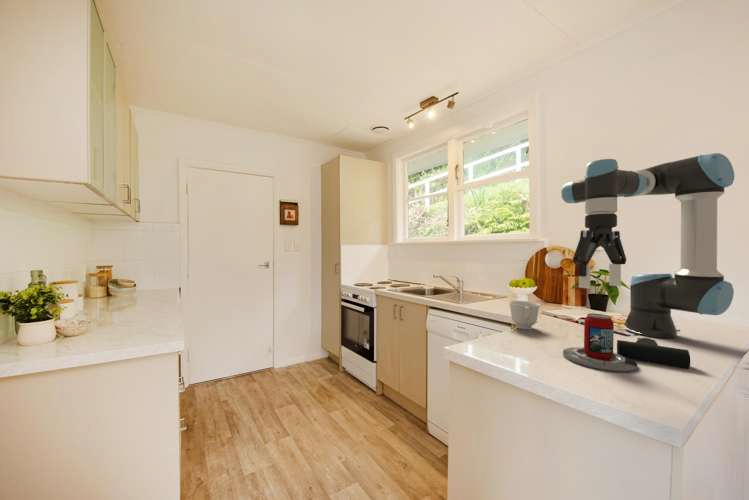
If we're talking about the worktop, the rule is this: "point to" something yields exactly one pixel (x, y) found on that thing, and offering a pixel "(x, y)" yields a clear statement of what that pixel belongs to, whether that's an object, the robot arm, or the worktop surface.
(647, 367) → the worktop surface
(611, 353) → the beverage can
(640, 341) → the pipe connector
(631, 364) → the ring plate
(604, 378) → the worktop surface
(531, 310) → the teacup
